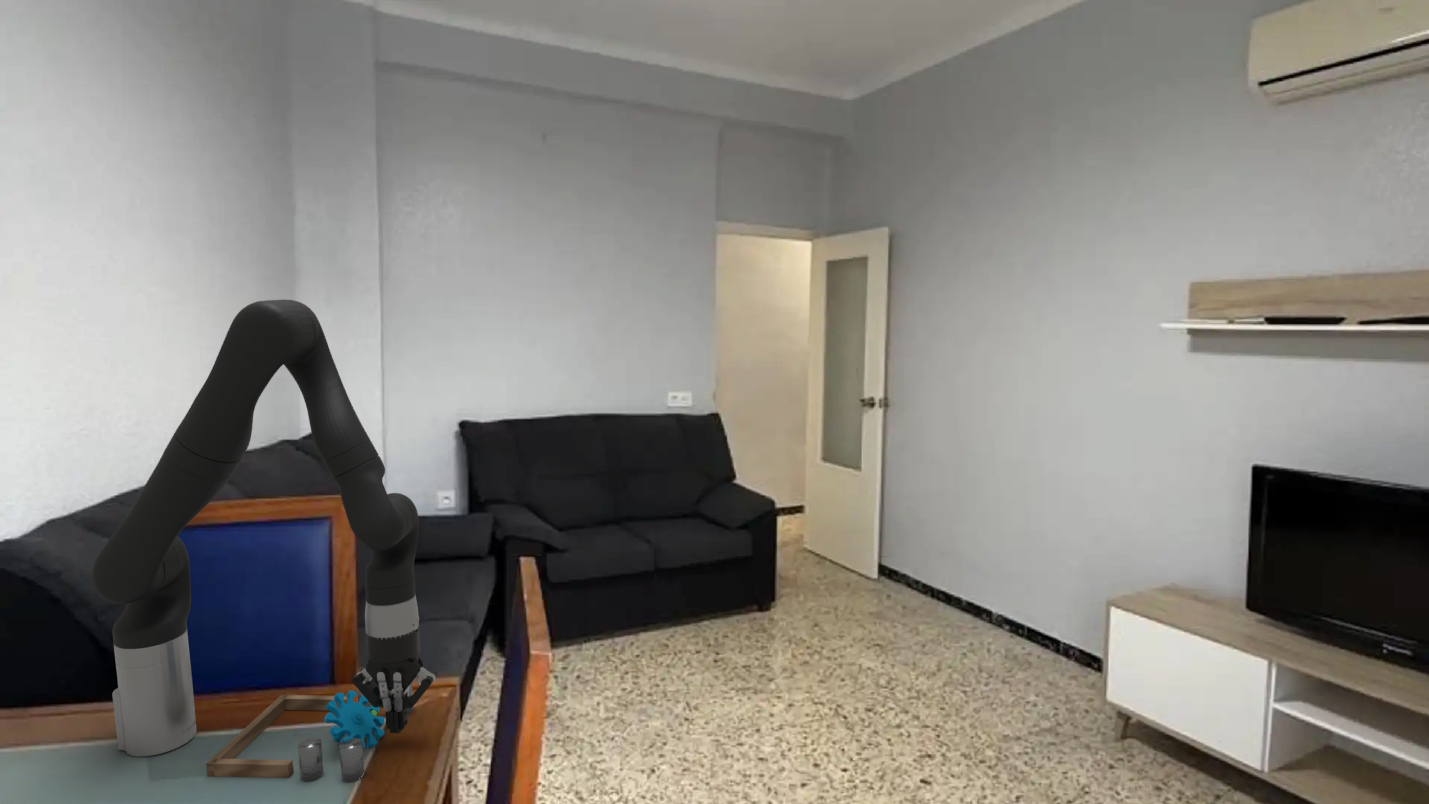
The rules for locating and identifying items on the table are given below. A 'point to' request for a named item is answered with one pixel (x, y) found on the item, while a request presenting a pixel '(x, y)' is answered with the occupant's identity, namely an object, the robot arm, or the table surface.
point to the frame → (225, 757)
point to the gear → (354, 719)
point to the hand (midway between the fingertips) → (397, 730)
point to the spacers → (348, 755)
